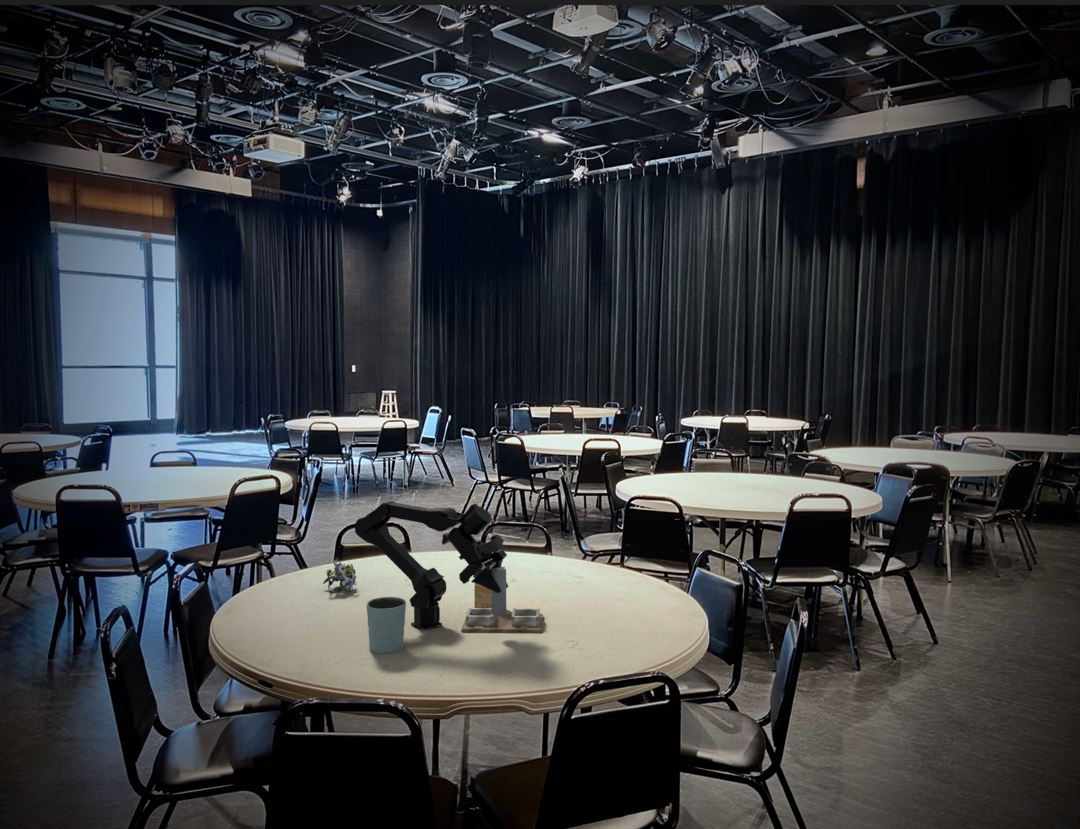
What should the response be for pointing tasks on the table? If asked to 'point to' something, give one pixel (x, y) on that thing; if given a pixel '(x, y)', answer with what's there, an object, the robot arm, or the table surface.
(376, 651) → the light blue cup
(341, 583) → the passion flower
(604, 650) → the table surface
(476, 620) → the socket board
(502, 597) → the plug
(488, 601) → the supplement box
